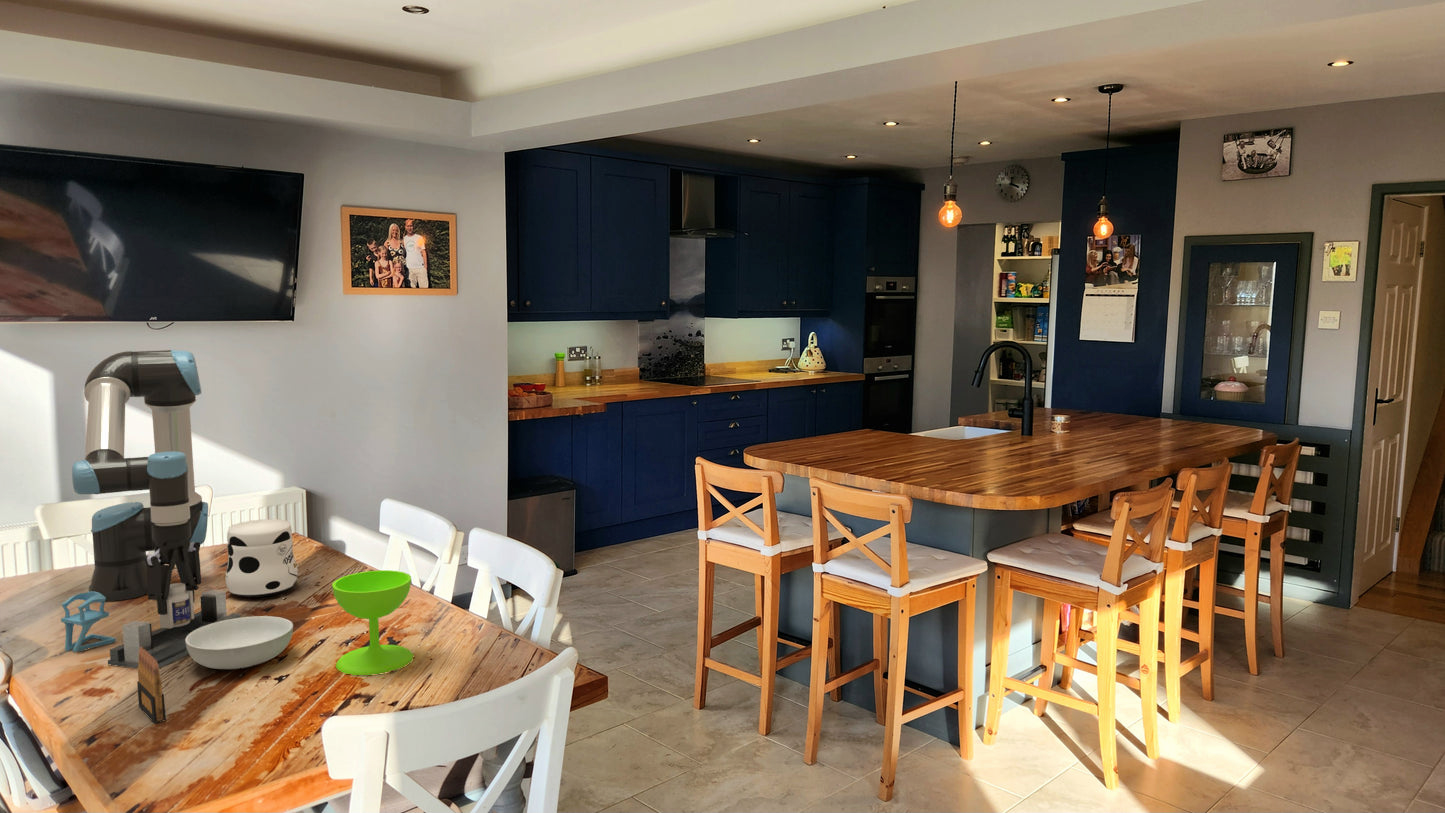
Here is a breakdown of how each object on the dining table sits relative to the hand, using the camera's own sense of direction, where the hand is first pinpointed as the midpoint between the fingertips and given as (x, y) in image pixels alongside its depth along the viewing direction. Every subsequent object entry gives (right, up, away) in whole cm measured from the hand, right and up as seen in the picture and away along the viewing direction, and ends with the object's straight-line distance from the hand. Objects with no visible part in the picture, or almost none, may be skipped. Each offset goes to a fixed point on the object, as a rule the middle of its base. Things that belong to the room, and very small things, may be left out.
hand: (177, 622), depth 214 cm
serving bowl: (+18, -7, -8) cm, 21 cm away
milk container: (0, -1, +39) cm, 40 cm away
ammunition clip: (+14, -10, -33) cm, 38 cm away
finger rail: (0, -5, +1) cm, 5 cm away
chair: (-21, -6, +1) cm, 21 cm away
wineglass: (+47, -7, -8) cm, 48 cm away
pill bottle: (0, 0, 0) cm, 1 cm away
